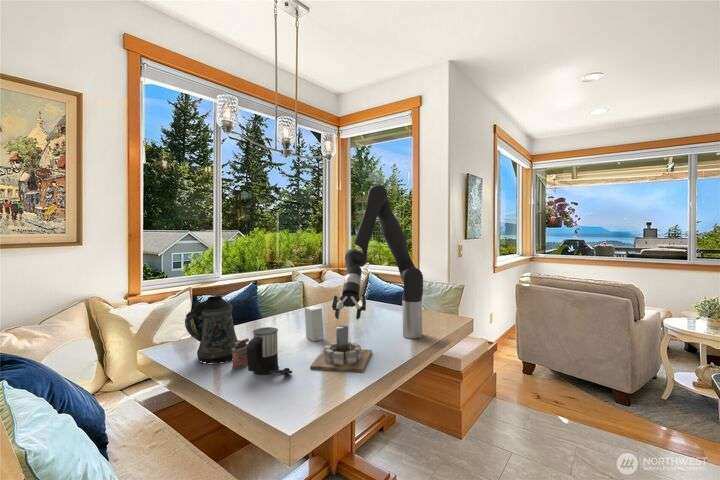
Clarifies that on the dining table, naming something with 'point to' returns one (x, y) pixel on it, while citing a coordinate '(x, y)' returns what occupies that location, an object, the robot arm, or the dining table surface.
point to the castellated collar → (342, 358)
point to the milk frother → (264, 352)
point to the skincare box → (314, 323)
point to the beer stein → (213, 330)
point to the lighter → (240, 354)
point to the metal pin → (342, 339)
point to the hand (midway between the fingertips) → (347, 318)
